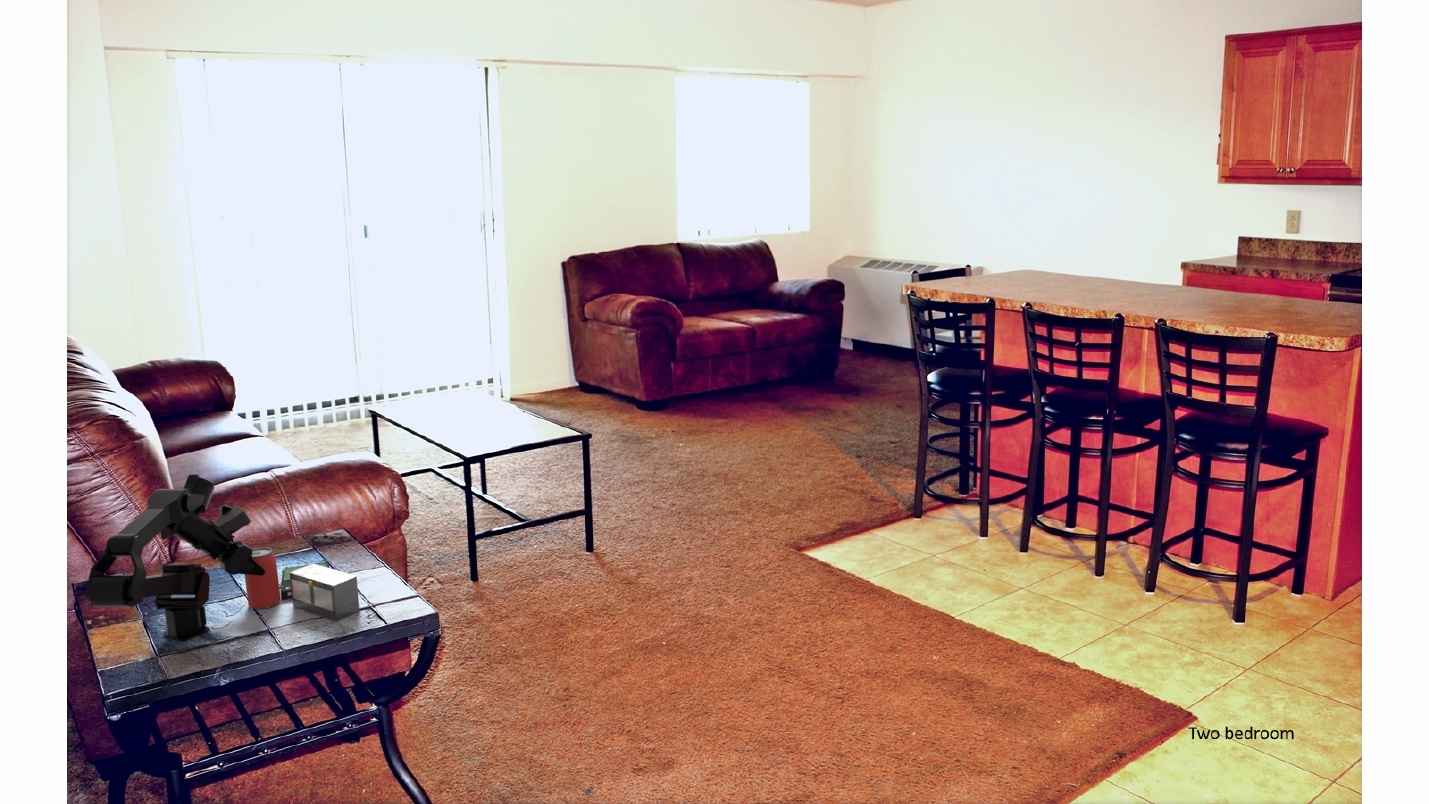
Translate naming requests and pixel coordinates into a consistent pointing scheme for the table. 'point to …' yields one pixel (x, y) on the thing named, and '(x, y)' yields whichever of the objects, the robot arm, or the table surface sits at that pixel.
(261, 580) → the beer can
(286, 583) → the disk drive
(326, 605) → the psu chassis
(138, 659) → the table surface
